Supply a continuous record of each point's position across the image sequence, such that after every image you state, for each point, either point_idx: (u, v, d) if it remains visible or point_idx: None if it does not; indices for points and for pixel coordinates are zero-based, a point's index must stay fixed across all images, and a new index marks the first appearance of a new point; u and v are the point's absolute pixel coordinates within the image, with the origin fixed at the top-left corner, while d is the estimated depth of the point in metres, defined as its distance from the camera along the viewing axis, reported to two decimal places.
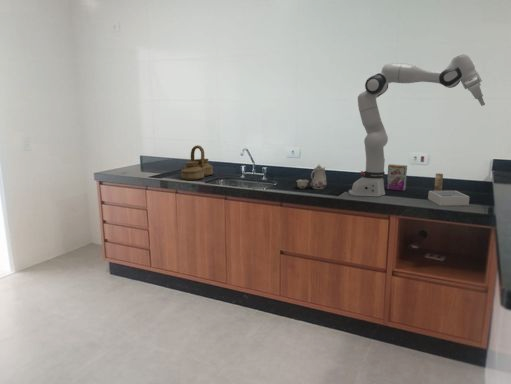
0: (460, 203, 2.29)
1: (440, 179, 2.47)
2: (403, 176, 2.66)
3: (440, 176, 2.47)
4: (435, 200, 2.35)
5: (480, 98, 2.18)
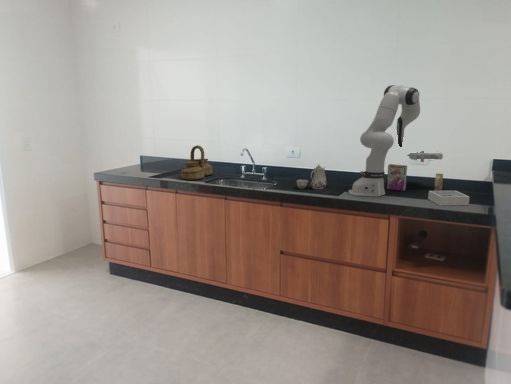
0: (460, 203, 2.29)
1: (440, 179, 2.47)
2: (403, 176, 2.66)
3: (440, 176, 2.47)
4: (435, 200, 2.35)
5: None
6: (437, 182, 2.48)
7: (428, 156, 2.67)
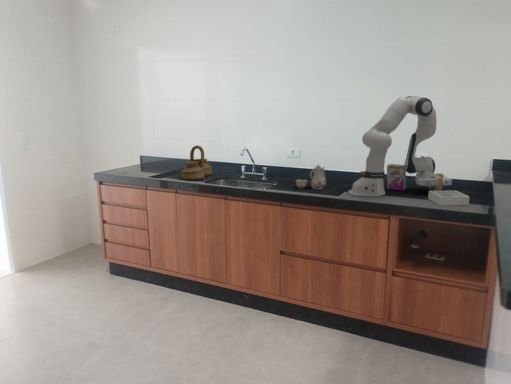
0: (460, 203, 2.29)
1: (440, 179, 2.47)
2: (402, 176, 2.65)
3: (440, 176, 2.47)
4: (435, 200, 2.35)
5: None
6: (437, 182, 2.48)
7: None
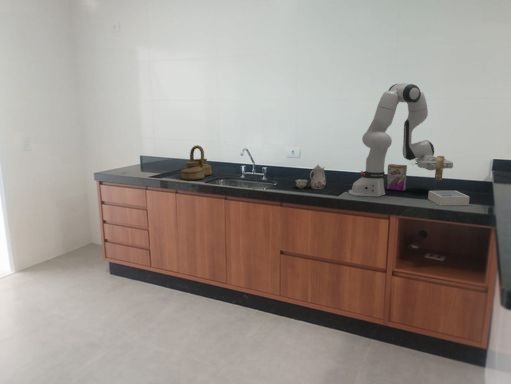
0: (460, 203, 2.29)
1: (441, 161, 2.45)
2: (403, 176, 2.66)
3: (441, 158, 2.44)
4: (435, 200, 2.35)
5: None
6: (438, 164, 2.46)
7: None
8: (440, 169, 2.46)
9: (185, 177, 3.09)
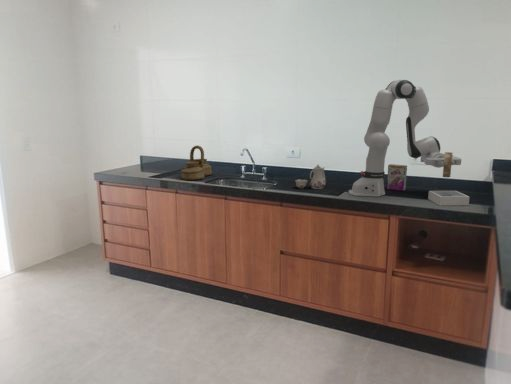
0: (460, 203, 2.29)
1: (449, 158, 2.35)
2: (403, 176, 2.66)
3: (449, 155, 2.35)
4: (435, 200, 2.35)
5: None
6: (446, 161, 2.36)
7: None
8: (448, 166, 2.36)
9: (185, 177, 3.09)
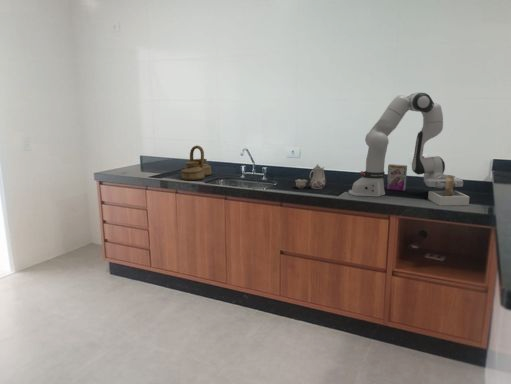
0: (460, 203, 2.29)
1: (451, 182, 2.33)
2: (403, 176, 2.66)
3: (451, 178, 2.33)
4: (435, 200, 2.35)
5: None
6: (448, 185, 2.34)
7: None
8: (450, 190, 2.34)
9: (185, 177, 3.09)
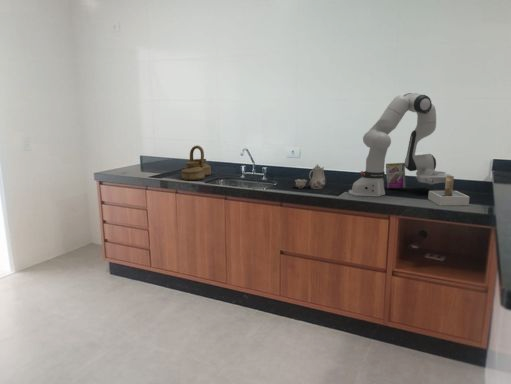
0: (460, 203, 2.29)
1: (451, 182, 2.33)
2: (402, 173, 2.68)
3: (451, 178, 2.33)
4: (435, 200, 2.35)
5: None
6: (447, 185, 2.34)
7: (438, 179, 2.52)
8: (450, 190, 2.34)
9: (186, 177, 3.08)
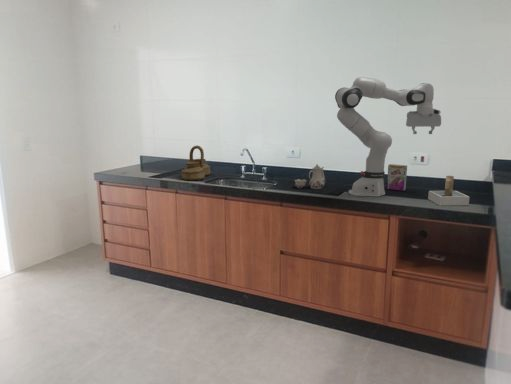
0: (460, 203, 2.29)
1: (451, 182, 2.33)
2: (403, 176, 2.66)
3: (451, 178, 2.33)
4: (435, 200, 2.35)
5: None
6: (447, 185, 2.34)
7: None
8: (450, 190, 2.34)
9: (186, 177, 3.08)
